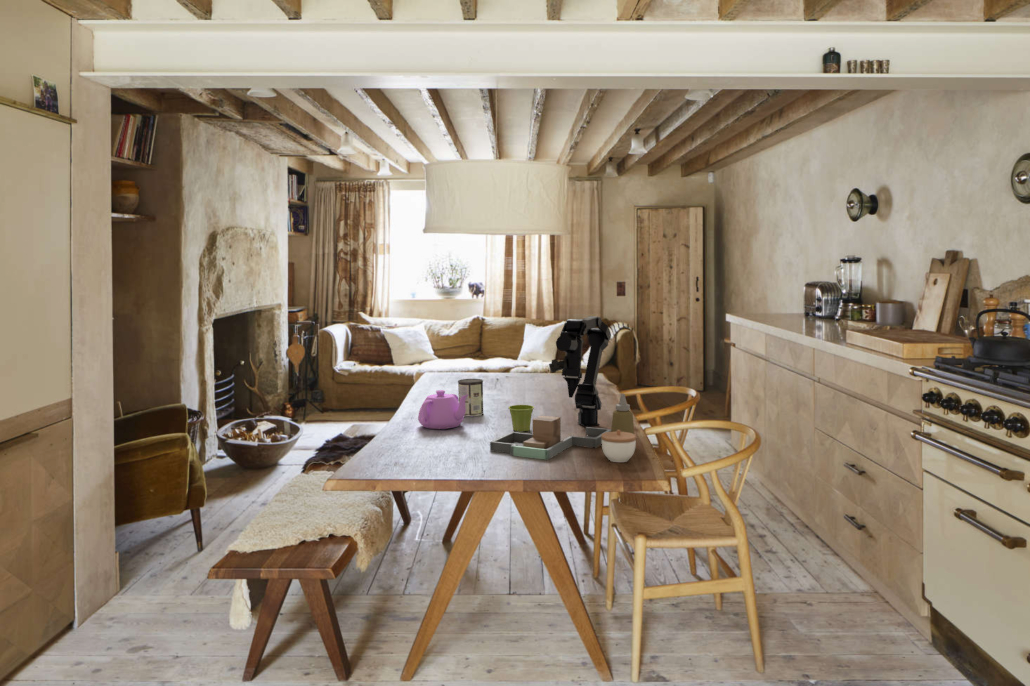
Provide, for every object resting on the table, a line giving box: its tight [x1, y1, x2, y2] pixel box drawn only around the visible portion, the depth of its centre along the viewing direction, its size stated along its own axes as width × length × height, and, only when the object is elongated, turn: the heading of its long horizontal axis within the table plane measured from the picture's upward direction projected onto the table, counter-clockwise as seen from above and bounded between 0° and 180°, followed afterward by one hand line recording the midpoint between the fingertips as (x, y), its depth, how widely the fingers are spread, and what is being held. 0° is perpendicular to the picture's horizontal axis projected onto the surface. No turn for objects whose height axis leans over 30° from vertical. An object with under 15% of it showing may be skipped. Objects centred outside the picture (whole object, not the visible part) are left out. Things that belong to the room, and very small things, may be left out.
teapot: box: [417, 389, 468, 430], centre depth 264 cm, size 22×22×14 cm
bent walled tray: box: [489, 426, 611, 461], centre depth 236 cm, size 36×30×3 cm
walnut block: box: [523, 415, 562, 449], centre depth 228 cm, size 14×7×10 cm, turn 153°
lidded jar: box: [601, 430, 637, 463], centre depth 216 cm, size 11×11×9 cm
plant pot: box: [508, 404, 535, 433], centre depth 258 cm, size 9×9×9 cm
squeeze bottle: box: [610, 393, 635, 434], centre depth 230 cm, size 8×8×18 cm
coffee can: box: [457, 378, 484, 417], centre depth 287 cm, size 10×10×14 cm
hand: (570, 397), depth 249 cm, fingers closed
